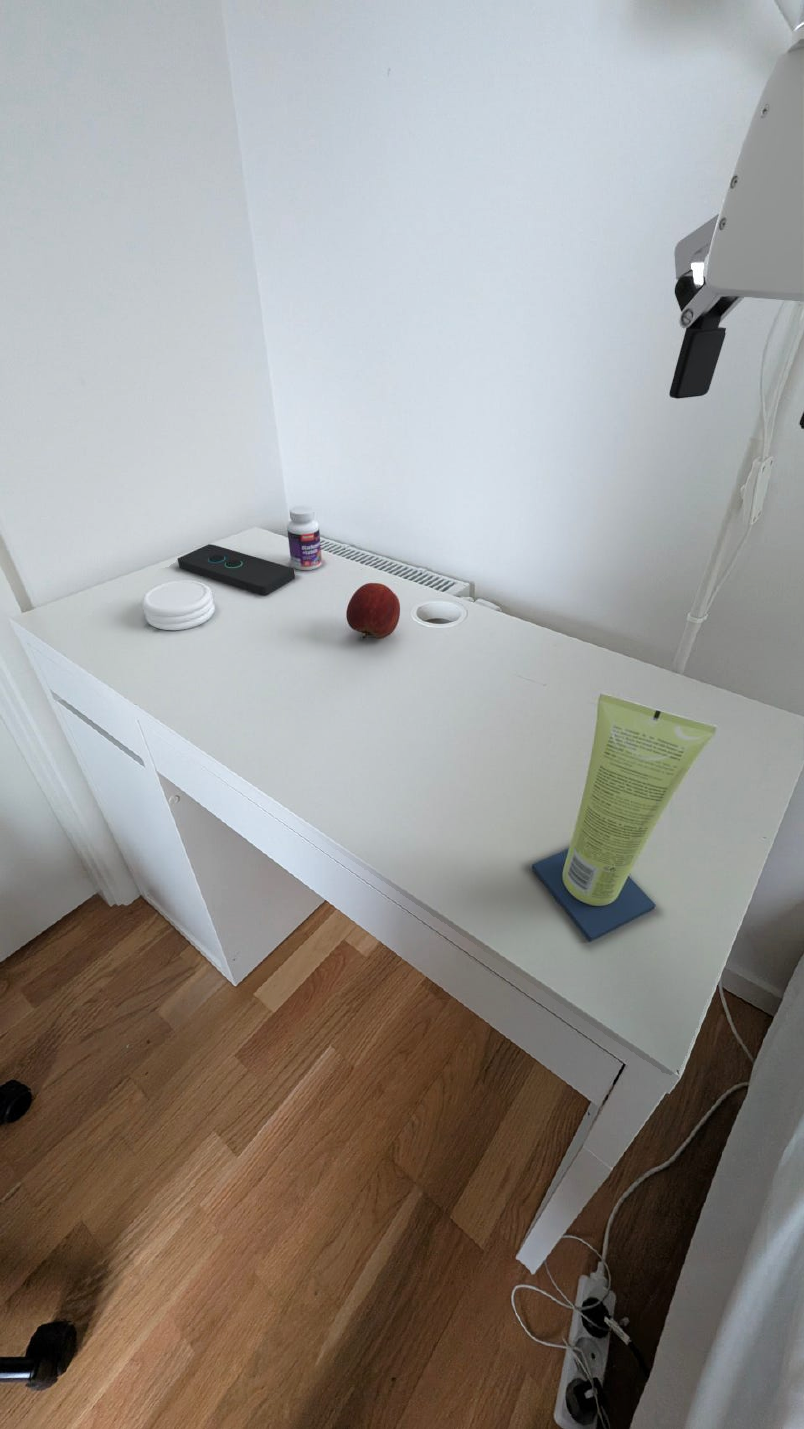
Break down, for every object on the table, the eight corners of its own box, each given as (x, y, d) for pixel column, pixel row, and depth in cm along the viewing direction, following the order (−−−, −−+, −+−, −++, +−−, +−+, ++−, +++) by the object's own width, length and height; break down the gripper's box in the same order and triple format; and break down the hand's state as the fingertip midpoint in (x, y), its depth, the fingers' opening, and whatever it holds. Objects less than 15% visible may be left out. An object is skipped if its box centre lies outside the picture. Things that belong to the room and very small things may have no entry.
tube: (607, 853, 53) (672, 680, 41) (638, 900, 49) (719, 725, 37) (550, 865, 52) (599, 691, 40) (577, 914, 48) (641, 739, 36)
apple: (411, 638, 83) (412, 587, 78) (366, 655, 79) (364, 603, 74) (381, 617, 88) (380, 568, 83) (337, 633, 84) (334, 582, 79)
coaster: (225, 602, 91) (221, 581, 89) (199, 634, 83) (193, 613, 81) (165, 597, 92) (160, 576, 90) (134, 628, 85) (127, 607, 82)
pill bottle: (306, 574, 99) (300, 517, 93) (285, 565, 102) (278, 510, 96) (328, 563, 102) (324, 508, 96) (307, 555, 105) (302, 501, 99)
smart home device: (210, 542, 105) (296, 567, 97) (212, 551, 106) (297, 577, 98) (174, 558, 99) (262, 586, 91) (176, 568, 100) (264, 596, 92)
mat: (654, 908, 49) (656, 905, 49) (589, 942, 47) (591, 938, 47) (591, 841, 55) (593, 837, 55) (531, 868, 52) (532, 864, 52)
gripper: (1186, -52, 22) (924, 435, 33) (775, 51, 34) (682, 383, 45) (1097, -96, 19) (843, 451, 30) (684, 32, 31) (609, 391, 42)
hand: (747, 410), depth 37 cm, fingers open, 9 cm apart
